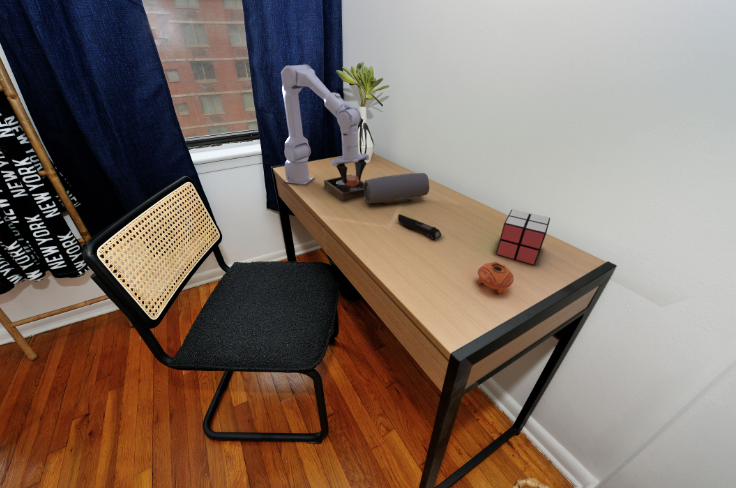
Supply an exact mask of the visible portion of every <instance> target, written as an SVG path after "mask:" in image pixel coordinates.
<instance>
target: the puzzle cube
mask: <svg viewBox="0 0 736 488" xmlns="http://www.w3.org/2000/svg"><path fill="white" fill-rule="evenodd" d="M550 221H551V217H550V216H545V215H541V214H537V213H530V212H526V211H523V210H519V209H511V210H510V212H509V213H508V215H507V217H506V219H505V221H504V222H503V225H502V230H501V233H500V237H499V241H498V244H497V249H496V251H495V254H496V255H498V256H501V257H504V258H507V259H508V258H509V259H511V260H516V261H518V262H522V263H526V264H529V265H533V266H535V265H536V263H537V261H538V258H539V255H540V253H541V250H542V247H543V244H544V241H545V238H546V235H547V233H548V230H549V229H548V228H549V225H550Z"/></svg>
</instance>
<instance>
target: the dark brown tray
mask: <svg viewBox="0 0 736 488" xmlns="http://www.w3.org/2000/svg"><path fill="white" fill-rule="evenodd" d="M349 175H350V174H347V176H349ZM339 180H342V178H341V176H338V177H333V178H327V179H324V180H323V186H324V187H323V188H324V189H326V190H327V191H329V193H331V194H332V195H333V196H335V197H336V198H338V200H340V201H342V203H344V202H349V201H352V200H356V199H360V198H365V197H364V190H363V187H364V182H365V181H363V180H359V184H358V185H357V186H350V189H348V190H339V189H337V185H336V182H337V181H339Z"/></svg>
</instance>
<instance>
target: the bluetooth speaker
mask: <svg viewBox="0 0 736 488" xmlns="http://www.w3.org/2000/svg"><path fill="white" fill-rule="evenodd" d="M363 182H364V187H363V190H364V197H363V198H364V200H365V201H366V203H367V204H379V203H380V204H381V203H382V204H387V205H388V204H396V203H405V202H409V201H410V200H411V199H415V198H420V197H424V196H427V195H428V194H429V193H430V180H429V176H428V174H426V173H425V172H414V173H402V174H392V175H386V176H379V177H373V178H368V179H365V180H364V181H363Z"/></svg>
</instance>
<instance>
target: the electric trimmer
mask: <svg viewBox="0 0 736 488" xmlns="http://www.w3.org/2000/svg"><path fill="white" fill-rule="evenodd" d="M397 221H398V222H399V223H400V224H402V225H403V226H405V227H407V228H408V229H410V230H416V231H418V232H419V233H420V232H421V233H422V234H425V235H426V236H429V237H431V239H432V240H433V241H434V240H435V241H437V240H439V239H440V238H441V237H442V232H441V230H440V229H439V228H437V227H436V226H432V225H429V224H426V223H424V222H422V221H419V220H417V219H414V218H412V217H408V216H407V215H404V214H400V213H399V214H398V215H397Z"/></svg>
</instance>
